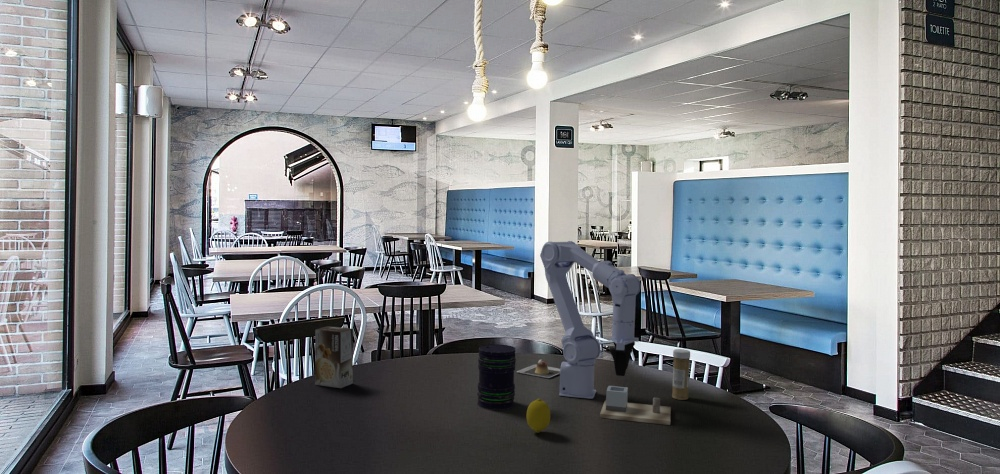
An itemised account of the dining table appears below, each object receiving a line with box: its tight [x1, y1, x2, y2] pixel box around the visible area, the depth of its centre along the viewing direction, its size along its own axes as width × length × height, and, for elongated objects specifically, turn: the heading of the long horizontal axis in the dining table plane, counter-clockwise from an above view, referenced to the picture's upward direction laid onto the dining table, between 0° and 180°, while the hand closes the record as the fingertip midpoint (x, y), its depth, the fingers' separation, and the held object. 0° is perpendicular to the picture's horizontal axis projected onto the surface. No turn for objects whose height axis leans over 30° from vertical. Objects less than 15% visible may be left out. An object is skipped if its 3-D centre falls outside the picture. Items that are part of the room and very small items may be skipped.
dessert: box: [515, 358, 560, 379], centre depth 207 cm, size 12×12×5 cm
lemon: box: [526, 398, 551, 434], centre depth 151 cm, size 6×6×8 cm
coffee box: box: [314, 325, 354, 389], centre depth 187 cm, size 9×6×16 cm
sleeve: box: [605, 385, 629, 412], centre depth 168 cm, size 5×5×5 cm
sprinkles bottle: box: [671, 348, 691, 401], centre depth 182 cm, size 5×5×13 cm
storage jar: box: [477, 343, 517, 411], centre depth 172 cm, size 10×10×15 cm
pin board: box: [599, 397, 672, 426], centre depth 167 cm, size 17×12×4 cm
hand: (621, 372), depth 172 cm, fingers open, 7 cm apart
